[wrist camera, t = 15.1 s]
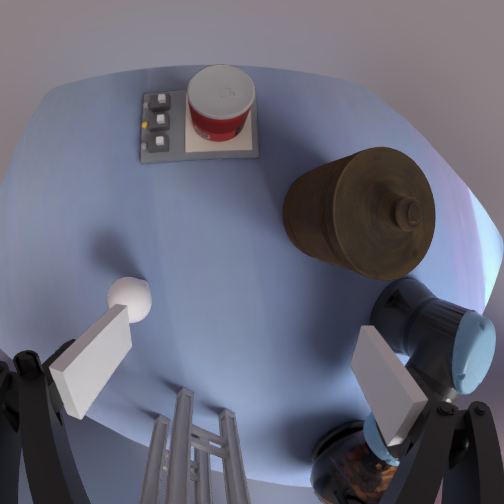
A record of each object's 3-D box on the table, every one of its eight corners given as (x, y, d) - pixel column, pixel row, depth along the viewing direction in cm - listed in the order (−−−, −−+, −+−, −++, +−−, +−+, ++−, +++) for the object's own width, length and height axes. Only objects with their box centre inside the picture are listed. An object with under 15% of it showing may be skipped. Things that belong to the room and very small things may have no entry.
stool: (206, 451, 46) (217, 590, 12) (141, 420, 44) (109, 568, 9) (249, 410, 46) (294, 571, 12) (179, 373, 43) (158, 560, 9)
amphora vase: (284, 468, 50) (316, 556, 22) (328, 406, 49) (392, 502, 21) (351, 468, 54) (393, 535, 26) (394, 412, 53) (458, 477, 25)
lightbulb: (128, 263, 40) (102, 277, 29) (164, 271, 41) (149, 288, 30) (123, 299, 41) (99, 323, 30) (158, 308, 42) (143, 335, 31)
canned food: (245, 142, 39) (257, 117, 28) (192, 145, 38) (186, 120, 27) (243, 98, 38) (253, 63, 27) (191, 100, 37) (187, 65, 26)
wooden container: (360, 260, 46) (451, 287, 24) (279, 257, 44) (341, 291, 22) (365, 176, 44) (457, 155, 23) (284, 164, 42) (349, 118, 20)
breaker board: (254, 91, 40) (258, 80, 36) (257, 158, 41) (262, 151, 37) (145, 96, 37) (140, 86, 33) (142, 164, 39) (135, 158, 35)
